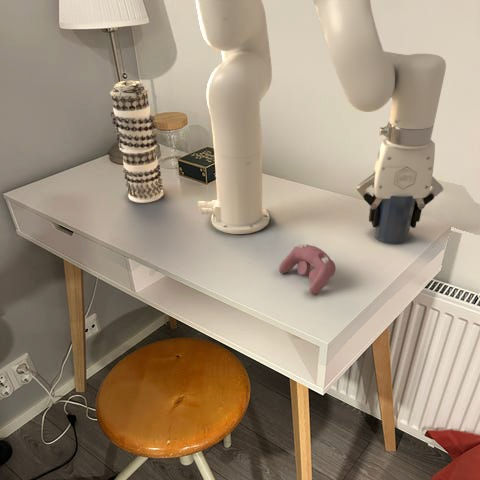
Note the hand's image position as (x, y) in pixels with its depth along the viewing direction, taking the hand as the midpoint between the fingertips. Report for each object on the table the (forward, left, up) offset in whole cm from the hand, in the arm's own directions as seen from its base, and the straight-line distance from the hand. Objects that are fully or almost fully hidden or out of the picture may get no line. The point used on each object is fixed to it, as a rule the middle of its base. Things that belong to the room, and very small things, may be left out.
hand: (392, 223), depth 97 cm
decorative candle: (-55, +19, -3) cm, 58 cm away
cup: (0, 0, -3) cm, 3 cm away
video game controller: (-18, -16, -3) cm, 24 cm away
